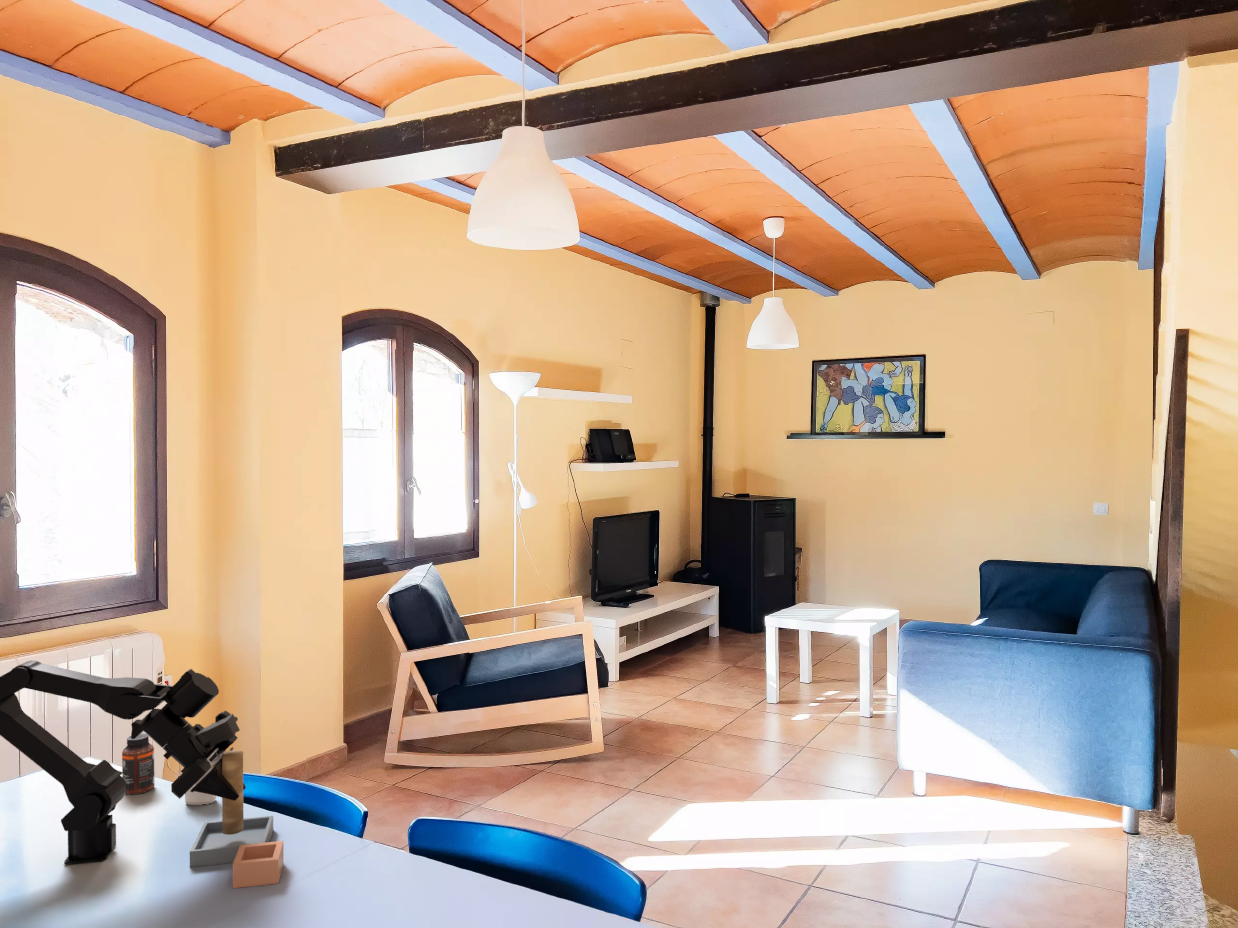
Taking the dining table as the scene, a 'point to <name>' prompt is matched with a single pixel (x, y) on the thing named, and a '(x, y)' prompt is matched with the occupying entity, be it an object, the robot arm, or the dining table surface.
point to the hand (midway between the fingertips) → (240, 793)
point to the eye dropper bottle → (198, 798)
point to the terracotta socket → (258, 864)
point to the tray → (228, 840)
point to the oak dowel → (234, 776)
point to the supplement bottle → (138, 765)
